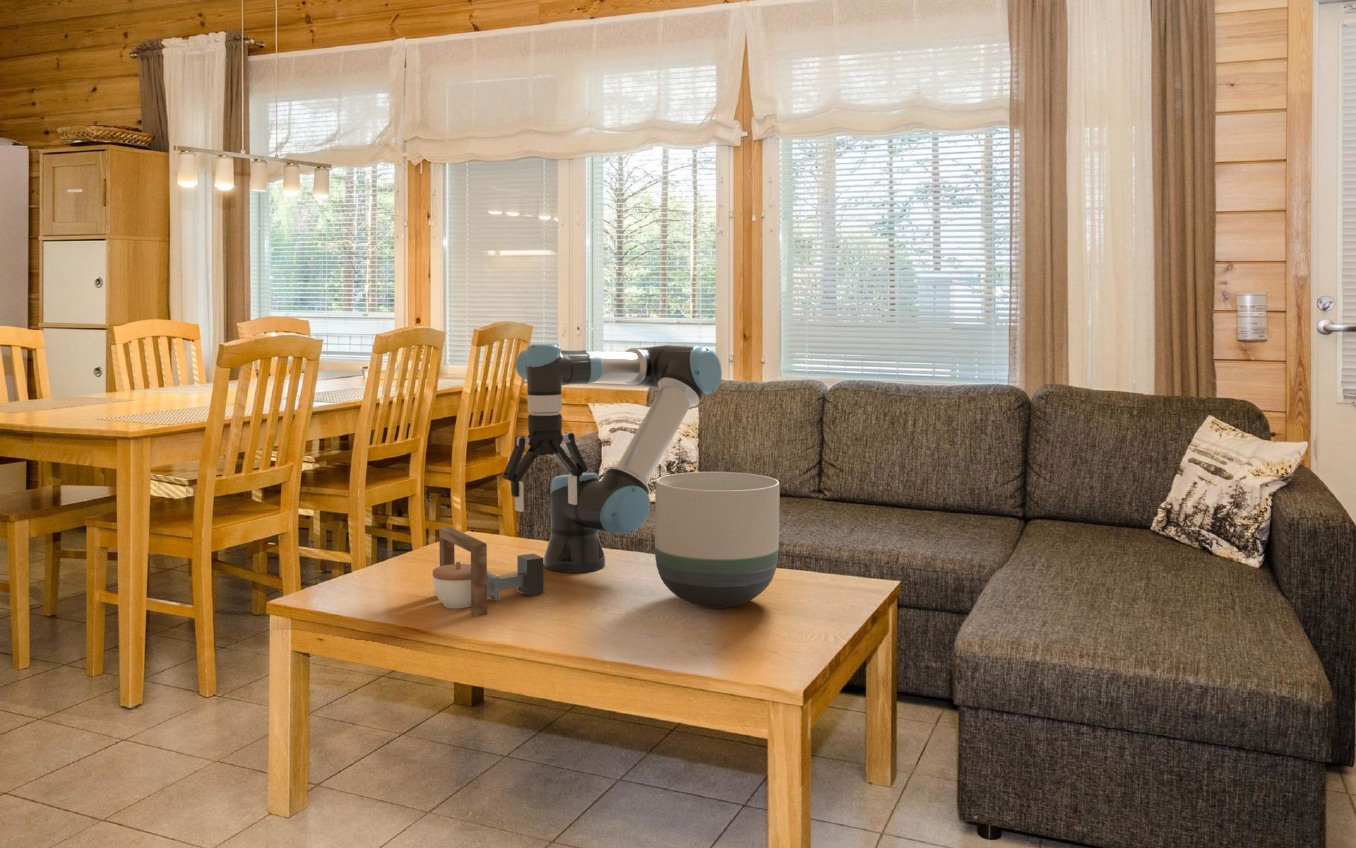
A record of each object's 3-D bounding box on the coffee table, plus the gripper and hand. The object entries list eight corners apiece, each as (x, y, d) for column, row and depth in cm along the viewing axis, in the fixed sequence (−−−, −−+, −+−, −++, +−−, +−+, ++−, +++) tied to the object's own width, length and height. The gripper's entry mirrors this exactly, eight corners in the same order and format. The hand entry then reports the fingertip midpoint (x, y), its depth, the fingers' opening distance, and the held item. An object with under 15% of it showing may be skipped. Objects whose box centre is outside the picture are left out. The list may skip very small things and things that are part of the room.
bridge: (450, 592, 243) (450, 526, 241) (487, 614, 226) (486, 543, 224) (440, 594, 241) (439, 527, 240) (475, 616, 224) (475, 545, 223)
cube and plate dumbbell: (530, 586, 247) (529, 551, 246) (547, 595, 240) (547, 559, 239) (478, 593, 240) (478, 558, 239) (495, 603, 233) (494, 566, 232)
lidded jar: (472, 613, 227) (472, 569, 226) (424, 609, 229) (424, 566, 228) (491, 600, 237) (490, 557, 236) (445, 596, 239) (444, 555, 238)
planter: (790, 594, 245) (792, 475, 242) (759, 626, 219) (761, 494, 217) (678, 583, 253) (679, 468, 251) (636, 612, 228) (636, 486, 225)
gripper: (584, 408, 251) (585, 498, 254) (486, 415, 237) (488, 511, 239) (601, 411, 245) (602, 503, 248) (501, 418, 231) (504, 516, 233)
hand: (546, 507), depth 243 cm, fingers open, 13 cm apart
